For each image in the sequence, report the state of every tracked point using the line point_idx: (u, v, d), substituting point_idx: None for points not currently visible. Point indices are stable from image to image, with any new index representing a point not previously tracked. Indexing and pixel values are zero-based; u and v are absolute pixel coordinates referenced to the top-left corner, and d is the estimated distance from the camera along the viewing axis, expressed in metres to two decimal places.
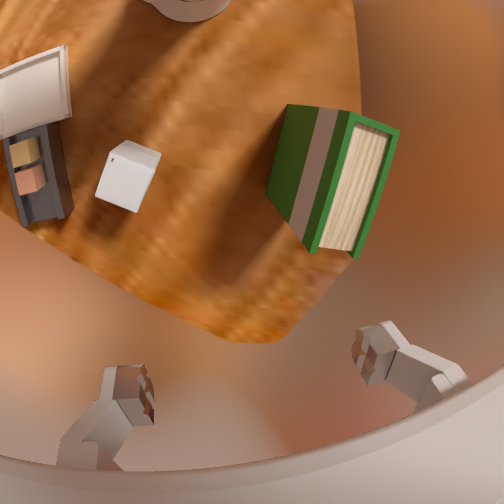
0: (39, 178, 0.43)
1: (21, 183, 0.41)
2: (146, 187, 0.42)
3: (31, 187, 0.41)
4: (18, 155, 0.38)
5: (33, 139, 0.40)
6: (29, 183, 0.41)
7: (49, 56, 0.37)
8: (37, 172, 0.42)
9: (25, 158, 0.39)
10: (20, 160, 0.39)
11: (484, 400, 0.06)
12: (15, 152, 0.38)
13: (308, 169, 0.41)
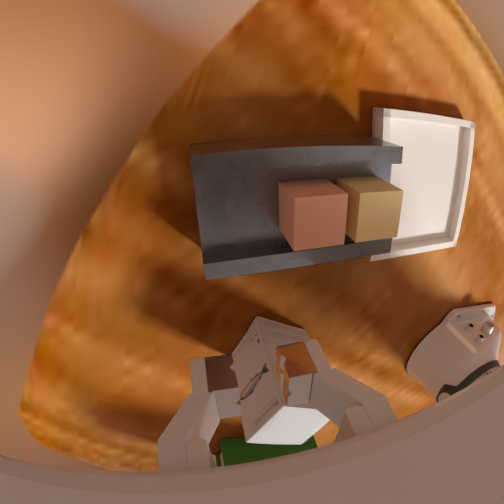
0: None
1: (321, 210, 0.21)
2: None
3: (305, 237, 0.22)
4: (378, 212, 0.22)
5: None
6: (315, 233, 0.22)
7: (450, 218, 0.33)
8: None
9: (367, 230, 0.23)
10: (368, 216, 0.22)
11: (484, 400, 0.06)
12: (387, 205, 0.22)
13: None
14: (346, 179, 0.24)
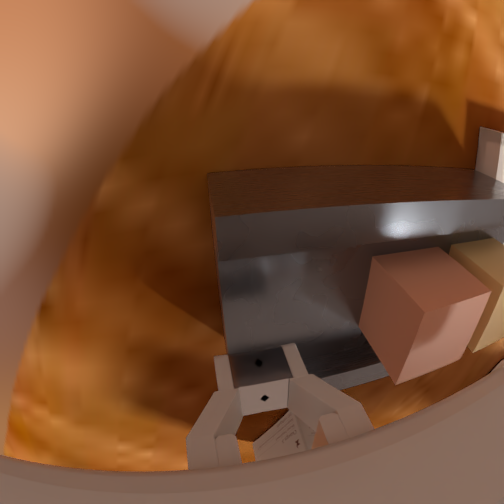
0: None
1: (453, 323, 0.10)
2: None
3: (418, 364, 0.11)
4: None
5: None
6: (433, 355, 0.11)
7: None
8: None
9: (491, 333, 0.12)
10: (499, 316, 0.11)
11: (484, 400, 0.06)
12: None
13: None
14: (465, 248, 0.13)
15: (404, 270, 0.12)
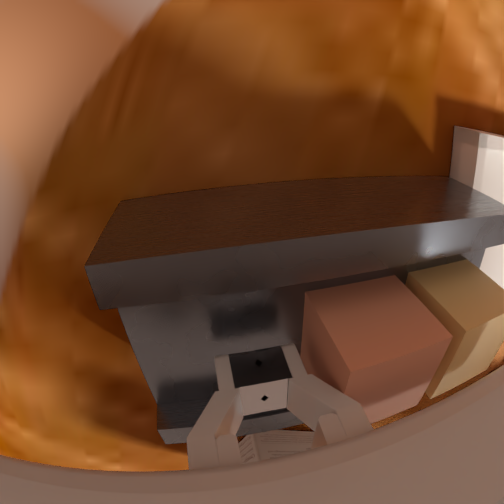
0: None
1: (398, 376, 0.09)
2: None
3: None
4: (479, 349, 0.10)
5: None
6: (376, 408, 0.09)
7: None
8: None
9: (454, 378, 0.10)
10: (463, 360, 0.10)
11: (484, 400, 0.06)
12: (493, 334, 0.09)
13: None
14: (425, 276, 0.12)
15: (340, 310, 0.10)
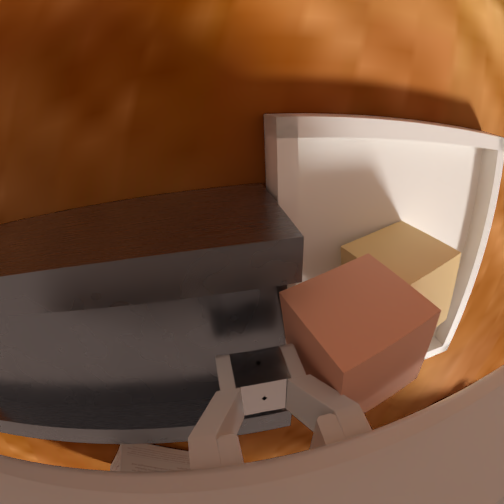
0: None
1: (393, 361, 0.09)
2: None
3: None
4: None
5: None
6: (376, 393, 0.10)
7: None
8: None
9: None
10: None
11: (484, 400, 0.06)
12: None
13: None
14: (400, 276, 0.11)
15: (320, 306, 0.10)
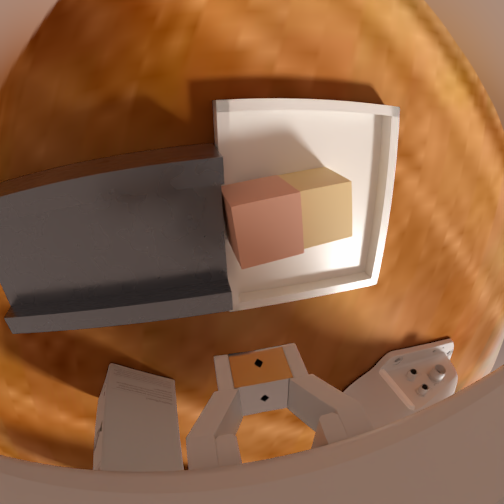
0: None
1: (268, 217, 0.17)
2: None
3: (253, 251, 0.18)
4: None
5: None
6: (265, 245, 0.18)
7: (367, 247, 0.27)
8: None
9: None
10: None
11: (484, 400, 0.06)
12: None
13: None
14: (298, 187, 0.19)
15: (235, 190, 0.19)
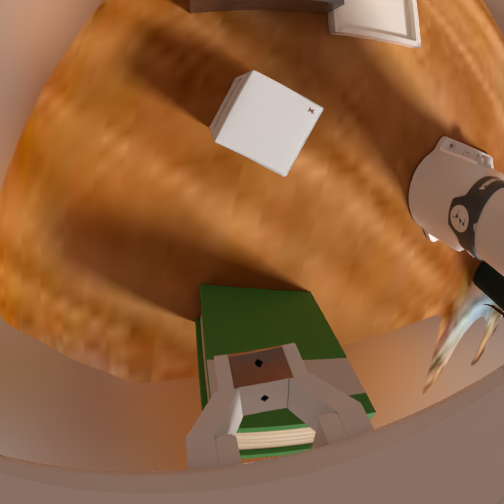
0: None
1: None
2: (258, 161, 0.26)
3: None
4: None
5: None
6: None
7: (409, 25, 0.31)
8: None
9: None
10: None
11: (484, 400, 0.06)
12: None
13: None
14: None
15: None
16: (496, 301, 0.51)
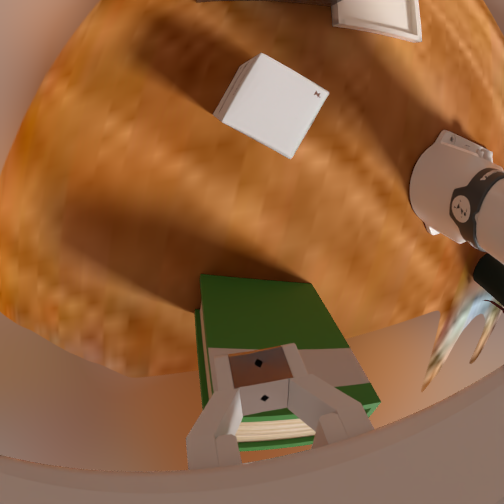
0: None
1: None
2: (265, 142, 0.26)
3: None
4: None
5: None
6: None
7: (410, 20, 0.31)
8: None
9: None
10: None
11: (484, 400, 0.06)
12: None
13: None
14: None
15: None
16: (496, 296, 0.52)
